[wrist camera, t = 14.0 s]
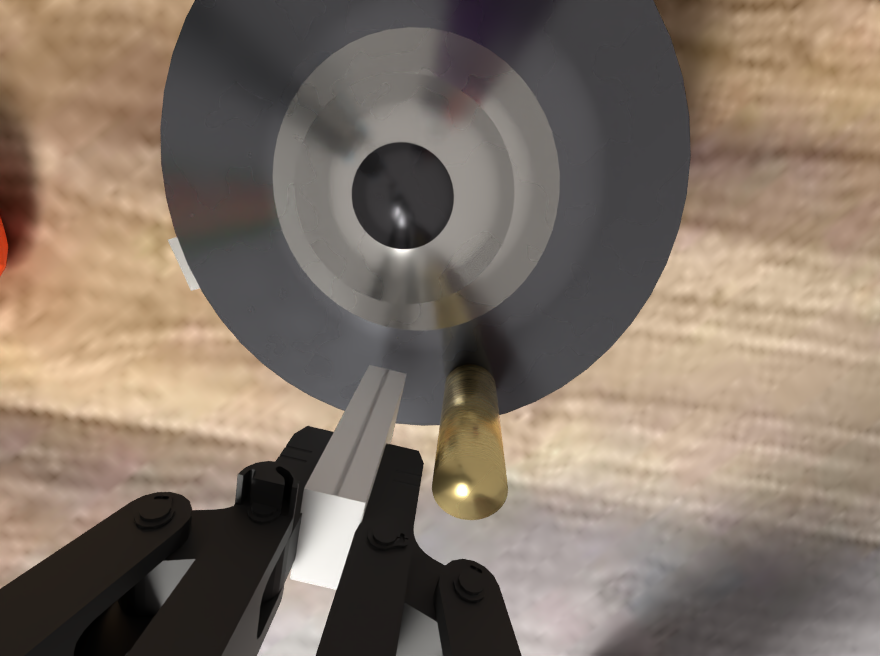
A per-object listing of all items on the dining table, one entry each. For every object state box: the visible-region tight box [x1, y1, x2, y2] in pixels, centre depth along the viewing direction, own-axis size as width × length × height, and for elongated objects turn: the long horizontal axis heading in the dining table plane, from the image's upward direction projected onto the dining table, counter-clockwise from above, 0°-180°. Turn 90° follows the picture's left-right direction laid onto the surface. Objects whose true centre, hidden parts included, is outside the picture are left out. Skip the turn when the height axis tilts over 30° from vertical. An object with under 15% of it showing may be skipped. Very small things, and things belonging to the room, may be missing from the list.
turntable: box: [161, 0, 690, 520], centre depth 13 cm, size 18×18×8 cm
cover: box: [273, 27, 560, 331], centre depth 13 cm, size 8×8×5 cm
